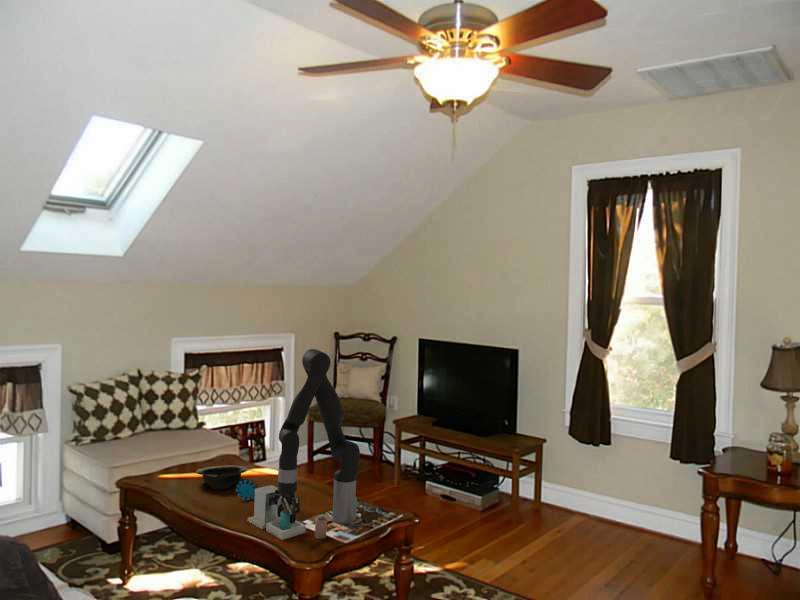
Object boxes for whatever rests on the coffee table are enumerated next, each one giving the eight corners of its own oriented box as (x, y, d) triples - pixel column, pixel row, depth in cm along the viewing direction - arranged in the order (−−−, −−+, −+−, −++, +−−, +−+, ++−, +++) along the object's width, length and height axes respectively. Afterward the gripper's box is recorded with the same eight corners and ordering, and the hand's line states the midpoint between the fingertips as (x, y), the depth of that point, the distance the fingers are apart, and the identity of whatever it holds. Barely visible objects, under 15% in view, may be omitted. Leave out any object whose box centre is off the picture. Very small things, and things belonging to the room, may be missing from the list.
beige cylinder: (321, 533, 260) (322, 514, 259) (328, 537, 257) (329, 517, 256) (312, 536, 257) (313, 516, 256) (319, 539, 253) (320, 519, 253)
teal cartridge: (286, 526, 263) (287, 507, 262) (293, 530, 260) (294, 510, 259) (277, 529, 260) (278, 510, 259) (284, 532, 257) (284, 513, 256)
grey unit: (272, 514, 277) (273, 483, 277) (287, 522, 269) (288, 490, 269) (247, 521, 269) (248, 488, 268) (262, 529, 261) (263, 496, 260)
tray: (289, 524, 267) (289, 517, 267) (305, 532, 259) (305, 525, 259) (266, 530, 260) (266, 523, 260) (281, 539, 252) (282, 532, 252)
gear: (238, 499, 289) (235, 478, 295) (233, 506, 292) (230, 485, 298) (261, 499, 295) (258, 479, 301) (256, 505, 298) (253, 485, 305)
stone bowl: (221, 496, 297) (221, 475, 297) (184, 488, 310) (183, 469, 310) (260, 481, 318) (259, 462, 318) (223, 475, 331) (223, 457, 331)
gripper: (269, 476, 262) (268, 516, 262) (289, 485, 251) (288, 527, 252) (285, 473, 267) (284, 512, 267) (306, 482, 256) (304, 523, 257)
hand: (286, 519), depth 260 cm, fingers open, 8 cm apart
